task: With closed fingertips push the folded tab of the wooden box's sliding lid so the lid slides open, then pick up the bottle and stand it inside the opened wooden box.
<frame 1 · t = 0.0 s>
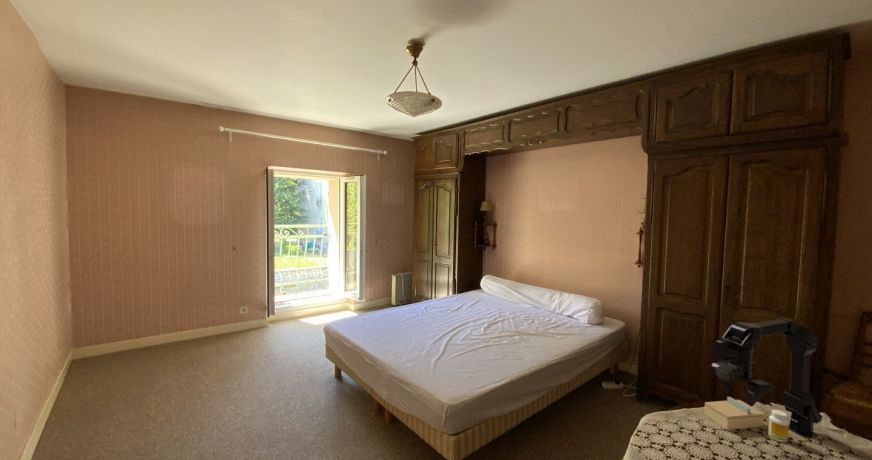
hand: (738, 399, 132), 15 cm above the table, fingers open, 9 cm apart
supplement bottle: (777, 438, 133), on the table
wooden box: (732, 421, 143), on the table
lid: (733, 406, 142), point 6 cm above the table, slide at 0.0 cm
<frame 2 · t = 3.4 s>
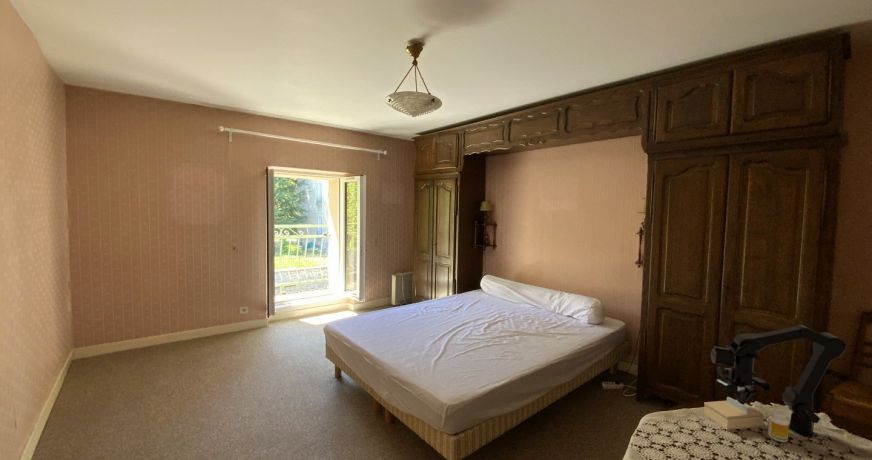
hand: (740, 405, 143), 6 cm above the table, fingers closed
lid: (733, 406, 142), point 6 cm above the table, slide at 0.3 cm, touching gripper
everything else where it was.
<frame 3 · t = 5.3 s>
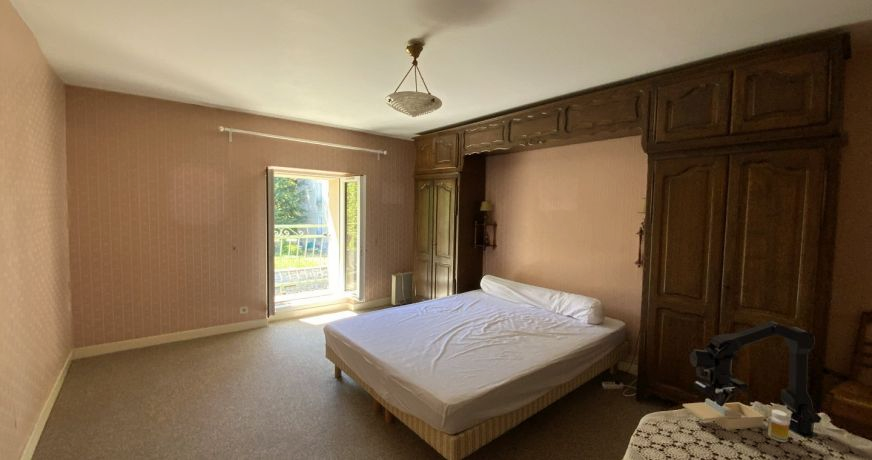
hand: (719, 406, 142), 6 cm above the table, fingers closed
lid: (711, 408, 141), point 6 cm above the table, slide at 10.0 cm, touching gripper
everything else where it was.
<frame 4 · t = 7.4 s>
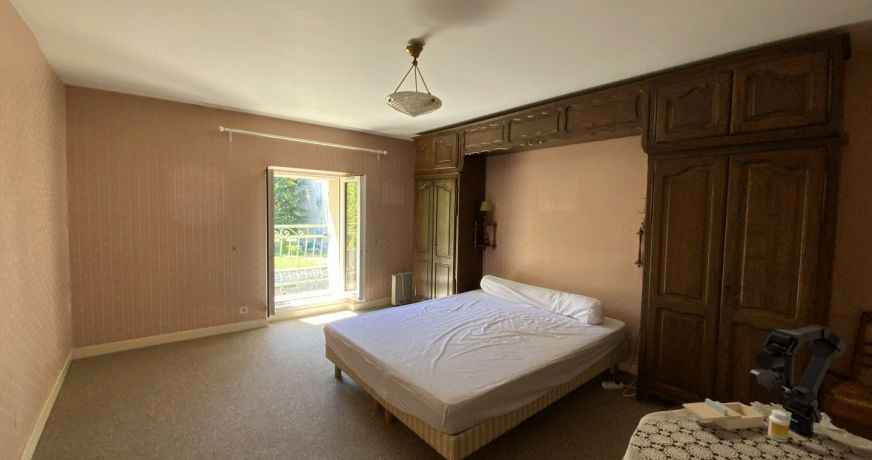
hand: (779, 406, 132), 12 cm above the table, fingers open, 3 cm apart
lid: (711, 408, 141), point 6 cm above the table, slide at 10.0 cm
everything else where it was.
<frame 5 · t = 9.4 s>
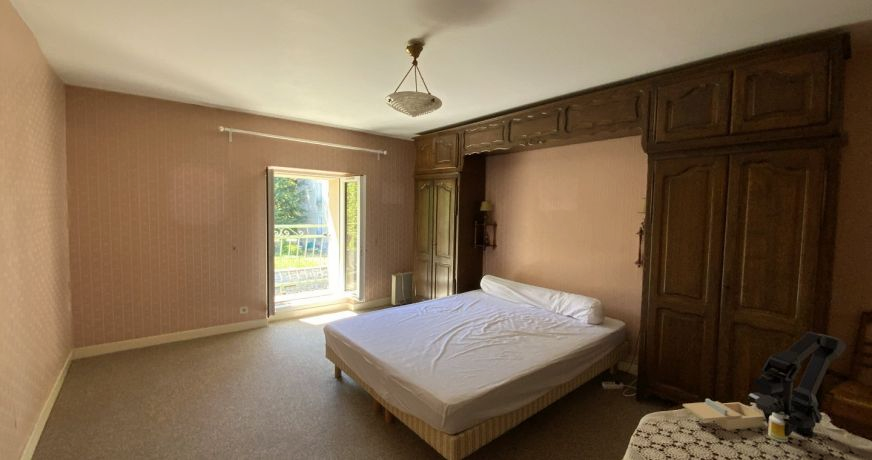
hand: (778, 431, 133), 3 cm above the table, fingers closed on supplement bottle, 5 cm apart
supplement bottle: (777, 438, 133), on the table, touching gripper
everything else where it was.
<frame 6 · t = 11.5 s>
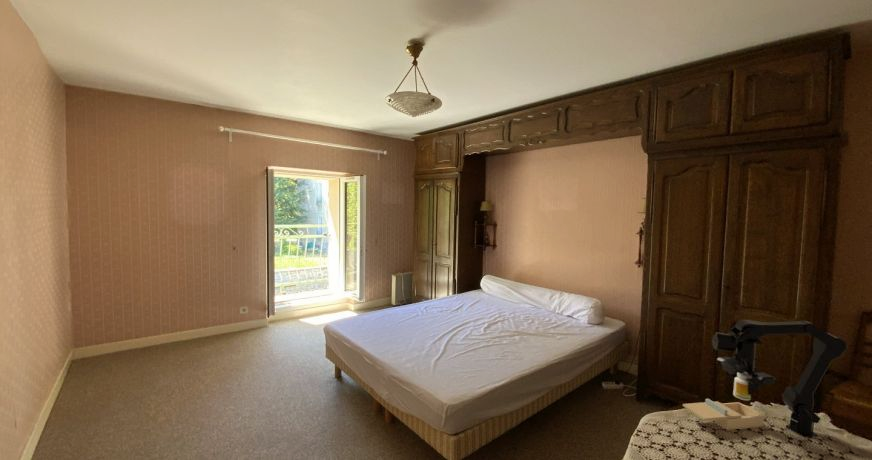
hand: (742, 391, 142), 13 cm above the table, fingers closed on supplement bottle, 5 cm apart
supplement bottle: (741, 397, 142), point 10 cm above the table, touching gripper
everything else where it was.
when the fingers open (4 cm above the table, at t = 13.6 s): supplement bottle stays where it is, resting on wooden box.
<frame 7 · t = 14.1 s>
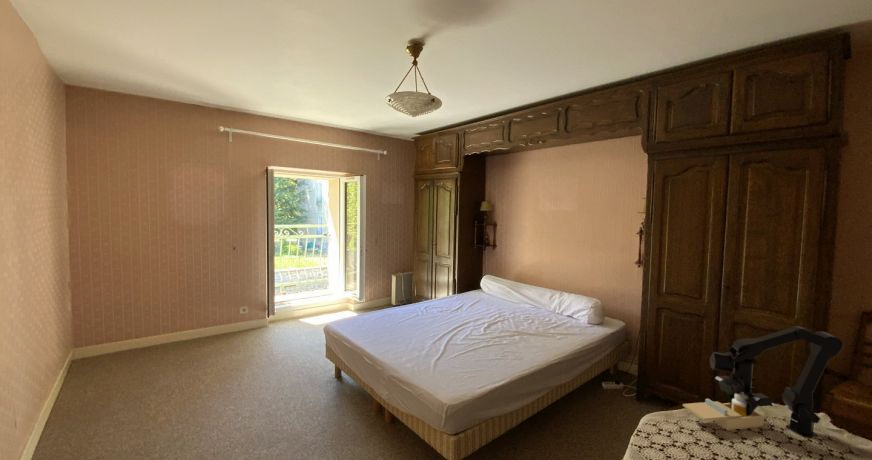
hand: (740, 410, 143), 4 cm above the table, fingers open, 6 cm apart
supplement bottle: (739, 419, 143), point 1 cm above the table, touching wooden box
everything else where it was.
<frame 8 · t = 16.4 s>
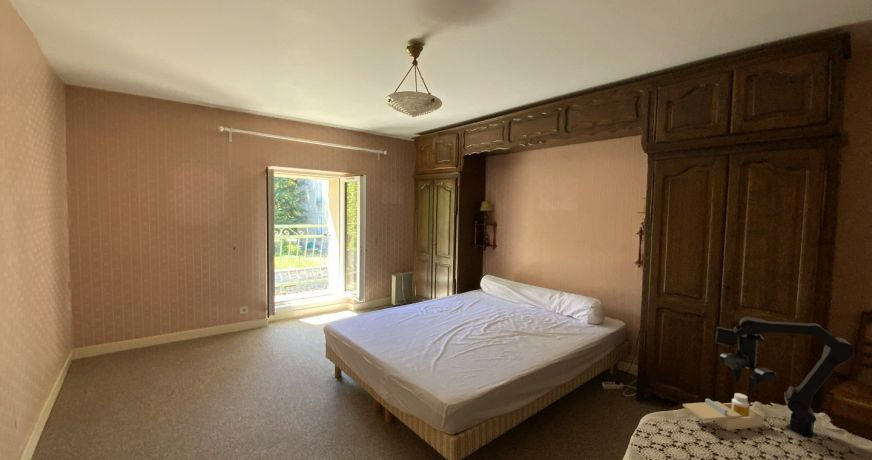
hand: (744, 386, 146), 13 cm above the table, fingers open, 6 cm apart
nothing on the table moved.
at the end: lid slide at 10.0 cm; supplement bottle inside the target area on the wooden box (1.0 cm from its centre), point 0.5 cm above the wooden box's base; supplement bottle tilted 0° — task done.
